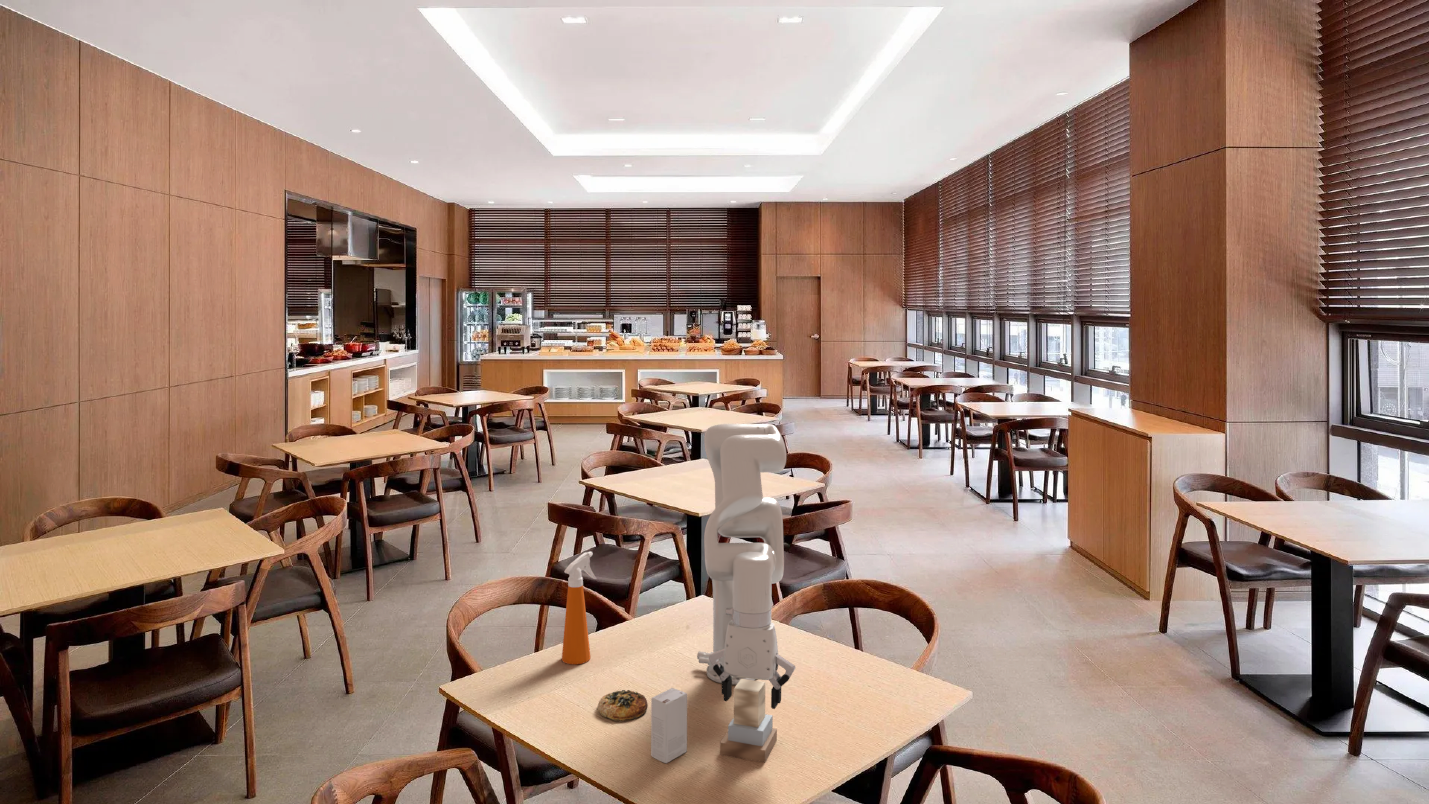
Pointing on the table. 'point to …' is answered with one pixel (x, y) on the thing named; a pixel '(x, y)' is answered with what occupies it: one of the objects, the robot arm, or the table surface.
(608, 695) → the bread roll
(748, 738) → the grey slab
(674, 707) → the skincare box
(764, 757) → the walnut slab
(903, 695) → the table surface
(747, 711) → the beech block
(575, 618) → the spray bottle
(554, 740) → the table surface
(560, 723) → the table surface
